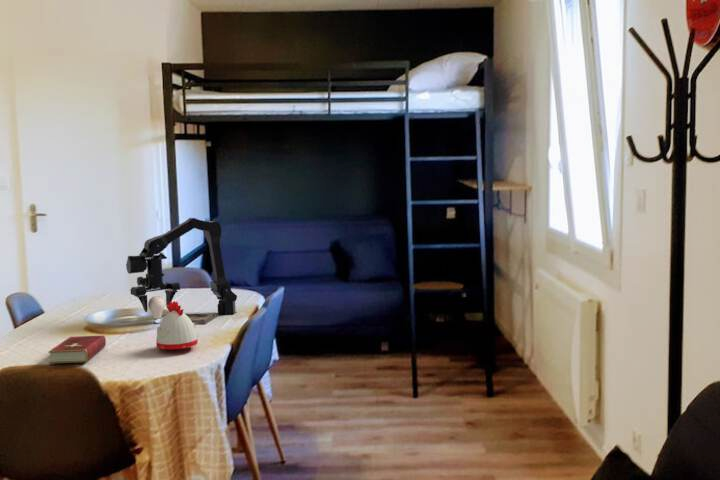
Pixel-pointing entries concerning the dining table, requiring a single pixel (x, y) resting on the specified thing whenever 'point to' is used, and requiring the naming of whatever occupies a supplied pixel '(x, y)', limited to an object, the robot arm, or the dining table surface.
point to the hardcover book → (77, 349)
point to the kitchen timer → (176, 329)
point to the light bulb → (156, 307)
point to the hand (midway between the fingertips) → (157, 310)
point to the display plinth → (201, 318)
